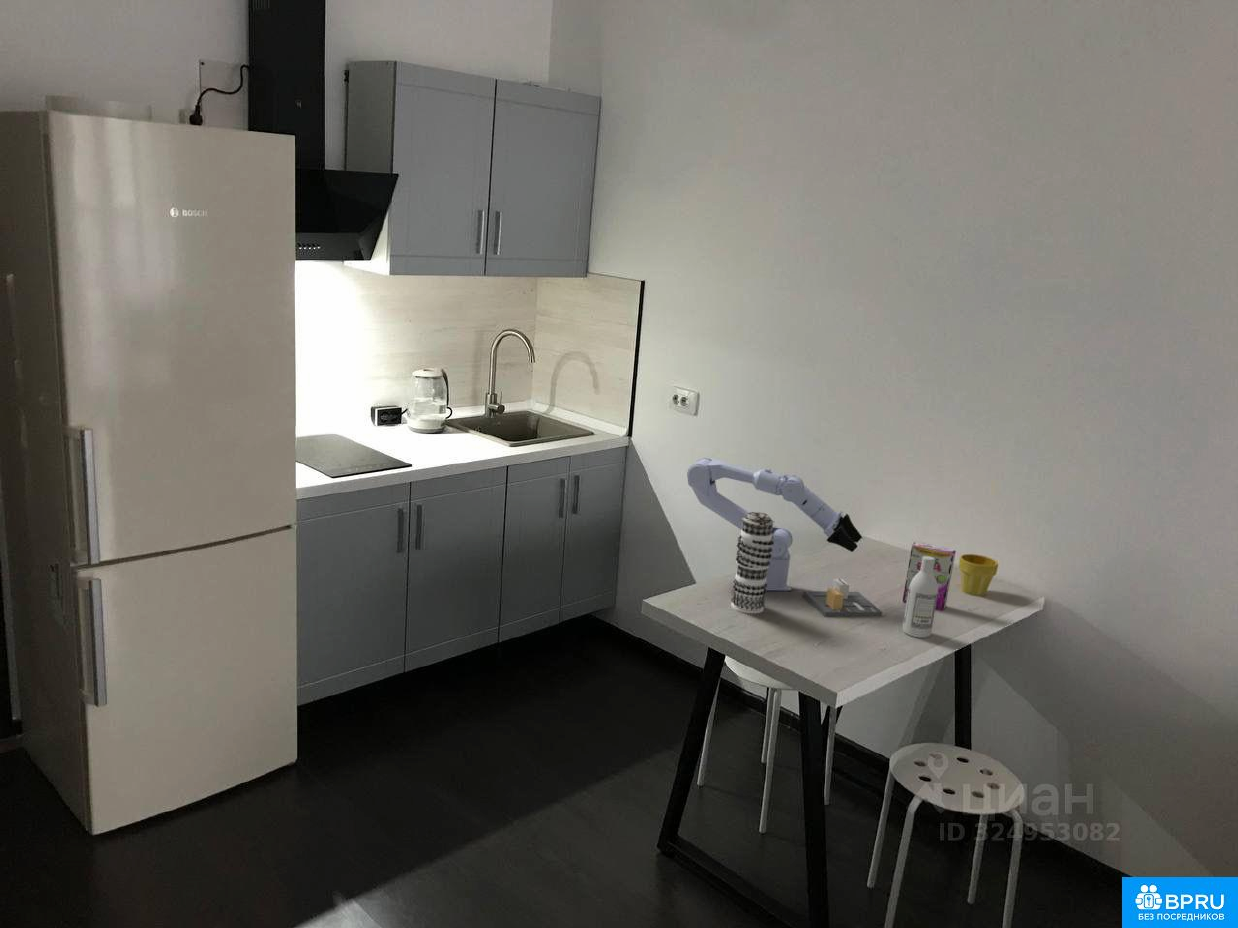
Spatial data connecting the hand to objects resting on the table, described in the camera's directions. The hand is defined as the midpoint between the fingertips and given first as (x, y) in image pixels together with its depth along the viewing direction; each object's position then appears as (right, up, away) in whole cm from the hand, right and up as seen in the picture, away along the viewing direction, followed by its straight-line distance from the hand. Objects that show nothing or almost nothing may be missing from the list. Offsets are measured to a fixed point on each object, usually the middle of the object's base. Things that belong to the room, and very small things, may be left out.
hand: (857, 544), depth 276 cm
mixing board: (-4, -16, -1) cm, 17 cm away
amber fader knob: (-7, -16, -5) cm, 18 cm away
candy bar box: (+20, -17, +6) cm, 27 cm away
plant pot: (+38, -15, +20) cm, 46 cm away
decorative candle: (-30, -16, -8) cm, 35 cm away
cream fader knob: (-4, -14, +3) cm, 15 cm away
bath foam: (+11, -21, -16) cm, 29 cm away
